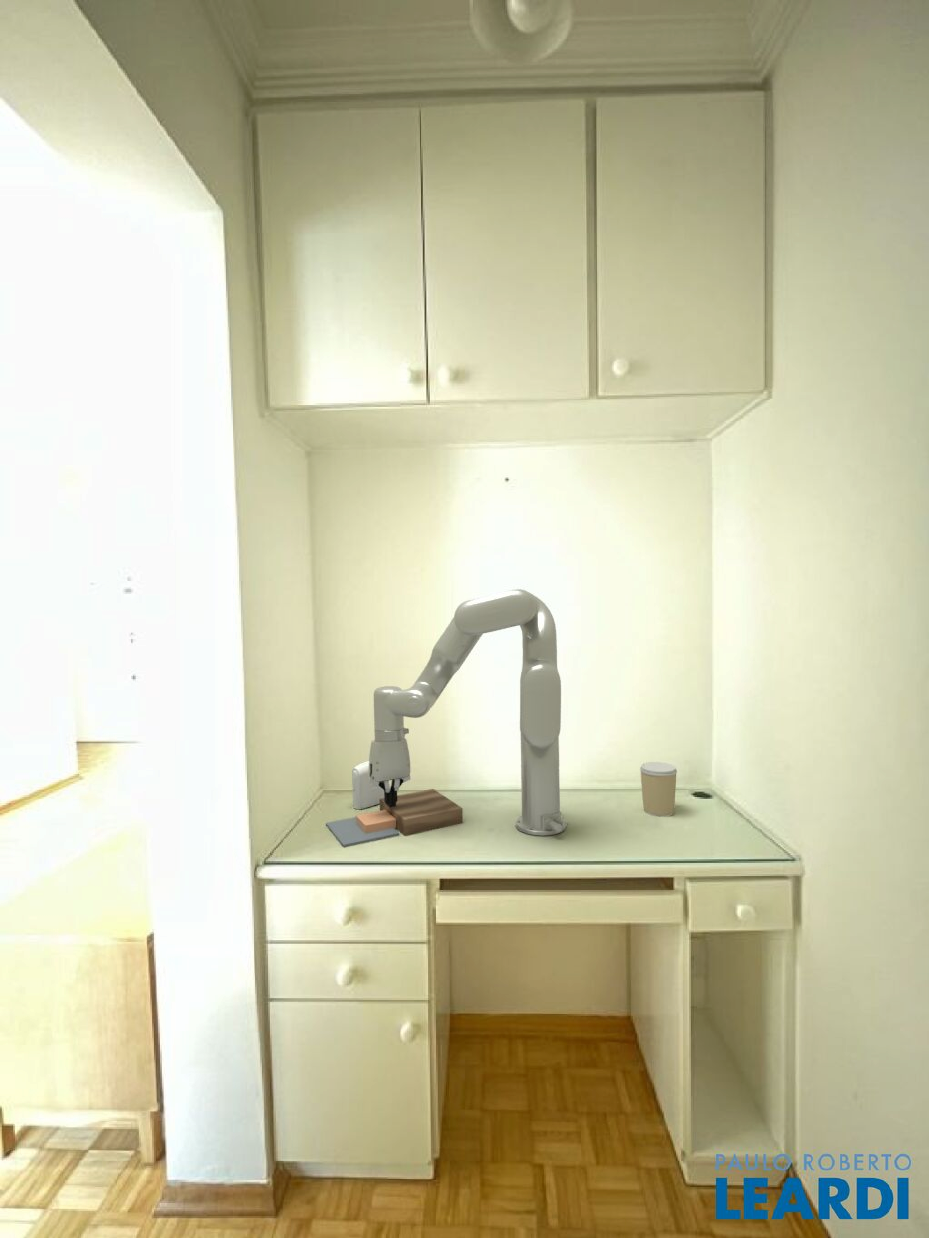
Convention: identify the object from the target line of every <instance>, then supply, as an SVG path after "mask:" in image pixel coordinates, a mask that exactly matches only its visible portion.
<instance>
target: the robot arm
mask: <svg viewBox="0 0 929 1238" xmlns="http://www.w3.org/2000/svg"><path fill="white" fill-rule="evenodd" d="M517 626H519V627H520V630H521V636H522V637H521V638H522V641H521V642H522V665H521V667H522V668H521V673H520V679H519V681H520V682H519V687H520V688H519V691H520V692H519V697H520V698H519V732H520V776H521V777H520V779H521V785H520V786H521V788H520V789H521V816H519V817H518V818H517V819H516V820H515V827H516V828H517V830H519V831H520V832H522V833H524V834H528V835H532V836H545V837H546V836H552V835H553V836H554V835H557V834H560V833H562V832H564V831H565V830H566V829H567V823H568V822H567V821H566V819H564V818H563V817H562V812H561V807H560V806H561V804H560V803H561V801H560V800H561V798H560V797H561V796H560V794H561V793H560V740H559V737H560V734H561V727H562V726H561V723H562V720H561V718H562V716H561V714H562V681H561V676H560V673H559V669H558V645H557V641H558V639H557V627H556V622H555V619H554V616H553V614H552V612H551V611H550V609H549V607H548V606H547V605H546V603H545V602H544V601H542V599H540V598H539V597H538V596H536V595H534V594H532V593H531V592H530V591H527V590H525V589H521V588H519V589H512V590H508V591H504V592H499V593H496V594H492V595H488V596H483V597H480V598H474V599H468V600H465V601H463V602H461V603H460V604H459V605H458V606H457V608H456V609H455V611H454V616H453V617H452V618H451V620H450V622H449V624H448V625H447V627H446V628H445V630H444V631H443V633H442V634H441V635H440V637H439V638H438V640H437V641H436V643H435V644H434V646H433V648H432V650H431V654H430V658H429V659H428V662H427V664H426V666H425V667H424V668H423V670H422V672H421V673H420V674H419V676H418V677H417V679H416V681H415V682H414V684H412V686H411V687H409V688H406V689H402V688H401V687H399V686H387V685H386V686H379V687H377V688H375V689H374V692H373V722H374V724H373V725H374V727H373V728H374V731H373V732H374V740H371V742H370V745H369V746H370V749H369V757H368V761H369V776H370V777H371V779H370V785H371V786H376V787H381V788H382V789H383V790H384V802H385V804H386V805H387V806H388V807H390V808H391V807H396V802H397V795H398V791H399V790H400V788H401V786H402V785H403V783H405V782H408V781H410V780H411V758H410V749H409V746H408V745H409V744H408V740H407V738H405V737H406V735H407V734H409V733H410V729H409V727H408V728H406V727H404V725H405V724H404V721H405V720H404V718H405V717H406V718H411V719H412V718H413V719H417V718H419V719H420V718H421V717H424V716H426V715H427V714H428V712H429V711H431V708H433V707H434V705H435V704H436V702H437V700H438V699H439V698H440V696H441V695H442V693H443V691H444V690H445V688H446V687H447V685H448V684H449V682H450V681H451V680H452V678H453V676H454V675H455V674H456V673H457V672H458V671H459V670H460V669H461V667H462V666H463V664H464V663H465V662H466V660H467V658H468V656H469V655H470V653H471V652H472V650H473V649H474V648H475V646H476V645H477V643H478V642H479V640H480V639H481V637H482V636H483V634H487V633H488V634H489V633H493V632H496V631H501V630H505V629H510V628H514V627H517ZM371 768H372V769H371ZM390 783H391V784H390Z"/></svg>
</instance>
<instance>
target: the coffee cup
mask: <svg viewBox="0 0 929 1238" xmlns="http://www.w3.org/2000/svg"><path fill="white" fill-rule="evenodd" d="M639 771H640V783H641V794H642V806H643V811H644V813H645V814H648V815H650V814H651V816H654V815H657V816H656V817H668V816H667V815H670V816H672V815H674V813H675V802H676V789H677V787H676V785H677V773H678V771H677V768H676V766H674V765H673V764H671V763H667V762H659V761H656V762H655V761H654V762H653V761H650V762H644V763H642V764H641V765H640V767H639ZM671 814H672V815H671Z"/></svg>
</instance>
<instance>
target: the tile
mask: <svg viewBox="0 0 929 1238" xmlns="http://www.w3.org/2000/svg"><path fill="white" fill-rule="evenodd" d="M355 817H356V823H357V825H358V826H359V827H360V828H361V829H362V830H363V831H364V832H365V833H371V832H375V831H380V830H385V829H390V828H395V827H396V819H395V818H394V817H393V816H392V815H391V814H390V813H388V812H387V811H386V810H381V811H380V810H377V811H371V812H366V813H361V814H356V815H355ZM395 829H396V828H395Z"/></svg>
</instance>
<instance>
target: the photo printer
mask: <svg viewBox="0 0 929 1238" xmlns="http://www.w3.org/2000/svg"><path fill="white" fill-rule="evenodd" d="M371 769H372V768H371ZM351 772H352V773H351V779H352V780H351V781H352V784H351V785H352V803H353V808H354V809H356V810H358V809H360V810H363V809H366V808H370V807H373V806H375V805H376V806H377V805H380V798H384V790H383V789H382V788H381V787H376V786H371V785H370V779H371V777H370V776H369V760H368V761H364V762H362V763H358V764H357V765H356V766H355V767H353V769H352V771H351Z"/></svg>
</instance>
